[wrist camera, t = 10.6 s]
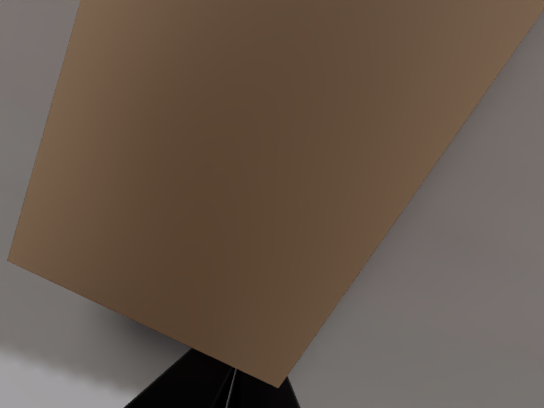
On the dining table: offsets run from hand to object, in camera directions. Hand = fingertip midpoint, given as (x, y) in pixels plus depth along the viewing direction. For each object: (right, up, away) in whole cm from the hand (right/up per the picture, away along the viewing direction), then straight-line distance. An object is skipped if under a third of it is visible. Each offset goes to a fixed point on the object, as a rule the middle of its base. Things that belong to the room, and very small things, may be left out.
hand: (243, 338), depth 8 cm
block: (+2, +8, -1) cm, 8 cm away
